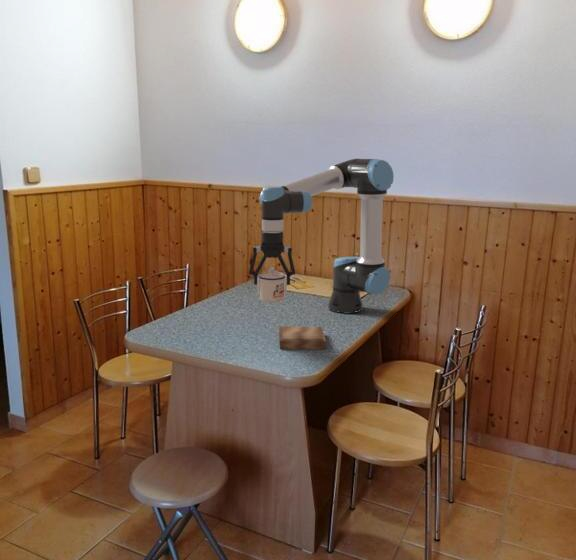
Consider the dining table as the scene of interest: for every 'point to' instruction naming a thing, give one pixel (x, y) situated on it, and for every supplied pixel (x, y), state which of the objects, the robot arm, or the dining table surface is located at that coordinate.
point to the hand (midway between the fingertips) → (271, 293)
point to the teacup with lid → (271, 286)
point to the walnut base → (301, 337)
